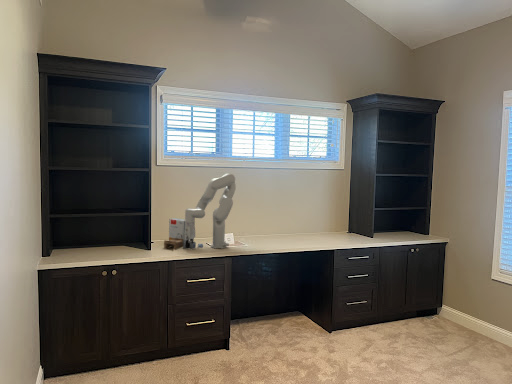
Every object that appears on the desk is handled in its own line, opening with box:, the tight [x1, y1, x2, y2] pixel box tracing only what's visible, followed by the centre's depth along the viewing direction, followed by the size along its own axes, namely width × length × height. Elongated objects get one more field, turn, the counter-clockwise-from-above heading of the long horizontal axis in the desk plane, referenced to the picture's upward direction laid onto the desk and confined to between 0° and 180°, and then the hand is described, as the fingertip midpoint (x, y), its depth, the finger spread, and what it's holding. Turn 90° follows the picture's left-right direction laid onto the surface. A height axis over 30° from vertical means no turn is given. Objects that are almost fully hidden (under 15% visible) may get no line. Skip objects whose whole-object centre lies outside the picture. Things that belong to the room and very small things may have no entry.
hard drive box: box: [168, 217, 188, 243], centre depth 318 cm, size 16×8×20 cm, turn 62°
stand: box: [163, 238, 183, 250], centre depth 302 cm, size 10×12×6 cm
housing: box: [182, 240, 197, 250], centre depth 301 cm, size 8×6×6 cm
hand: (189, 246), depth 302 cm, fingers closed on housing, 5 cm apart
